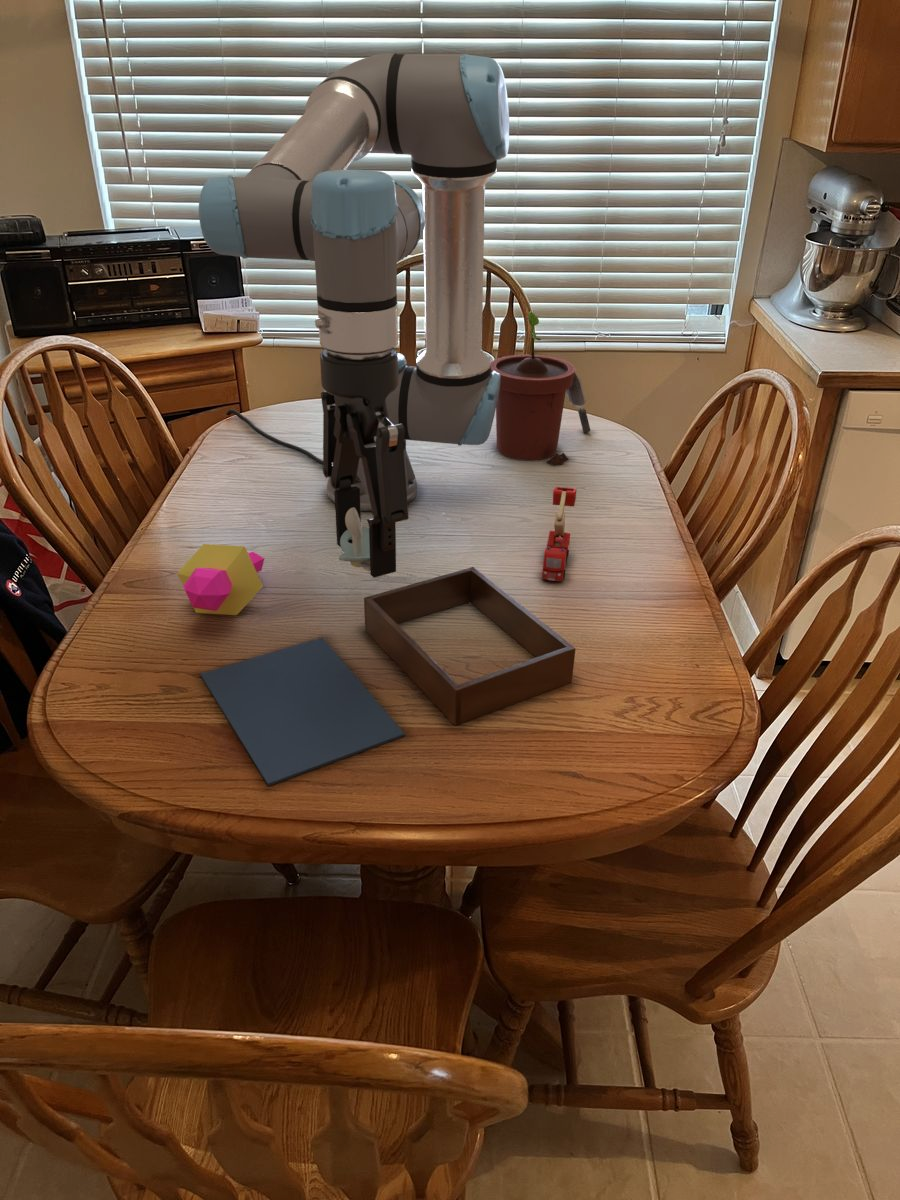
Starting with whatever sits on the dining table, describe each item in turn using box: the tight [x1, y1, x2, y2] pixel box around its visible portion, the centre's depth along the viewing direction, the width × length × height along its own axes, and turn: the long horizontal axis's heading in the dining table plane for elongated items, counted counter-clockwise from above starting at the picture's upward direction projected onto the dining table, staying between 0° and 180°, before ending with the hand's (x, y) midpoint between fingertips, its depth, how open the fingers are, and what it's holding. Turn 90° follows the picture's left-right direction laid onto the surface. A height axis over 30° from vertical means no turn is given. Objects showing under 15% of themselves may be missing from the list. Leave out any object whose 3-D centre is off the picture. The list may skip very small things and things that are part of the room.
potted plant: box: [491, 310, 591, 466], centre depth 167 cm, size 18×22×25 cm
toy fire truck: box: [541, 486, 577, 582], centre depth 132 cm, size 3×14×10 cm, turn 169°
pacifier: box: [338, 507, 370, 572], centre depth 97 cm, size 7×6×6 cm
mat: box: [199, 637, 406, 787], centre depth 104 cm, size 22×16×1 cm
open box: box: [363, 566, 576, 726], centre depth 112 cm, size 23×17×5 cm
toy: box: [177, 543, 265, 616], centre depth 120 cm, size 10×18×10 cm, turn 175°
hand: (365, 557), depth 98 cm, fingers closed on pacifier, 7 cm apart
